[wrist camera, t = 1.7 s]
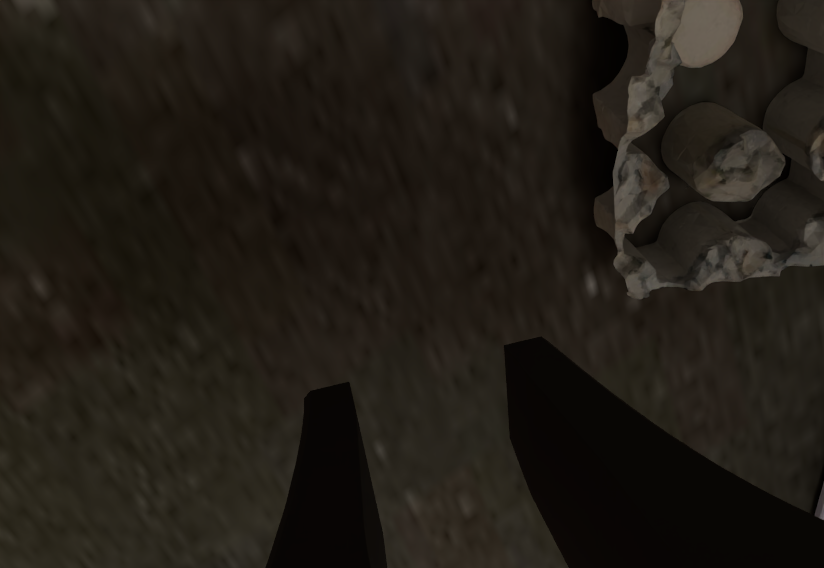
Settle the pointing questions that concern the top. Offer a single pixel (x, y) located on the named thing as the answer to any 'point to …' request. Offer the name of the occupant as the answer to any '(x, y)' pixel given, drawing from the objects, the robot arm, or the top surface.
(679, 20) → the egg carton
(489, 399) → the top surface
